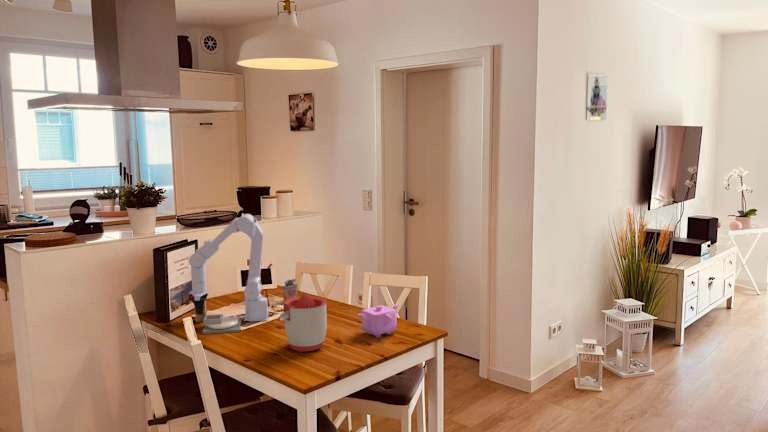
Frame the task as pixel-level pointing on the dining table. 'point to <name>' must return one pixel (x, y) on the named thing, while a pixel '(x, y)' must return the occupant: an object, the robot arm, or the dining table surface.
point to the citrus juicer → (305, 322)
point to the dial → (220, 321)
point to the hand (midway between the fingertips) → (200, 312)
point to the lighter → (290, 289)
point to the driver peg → (201, 317)
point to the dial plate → (226, 330)
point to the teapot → (379, 320)
